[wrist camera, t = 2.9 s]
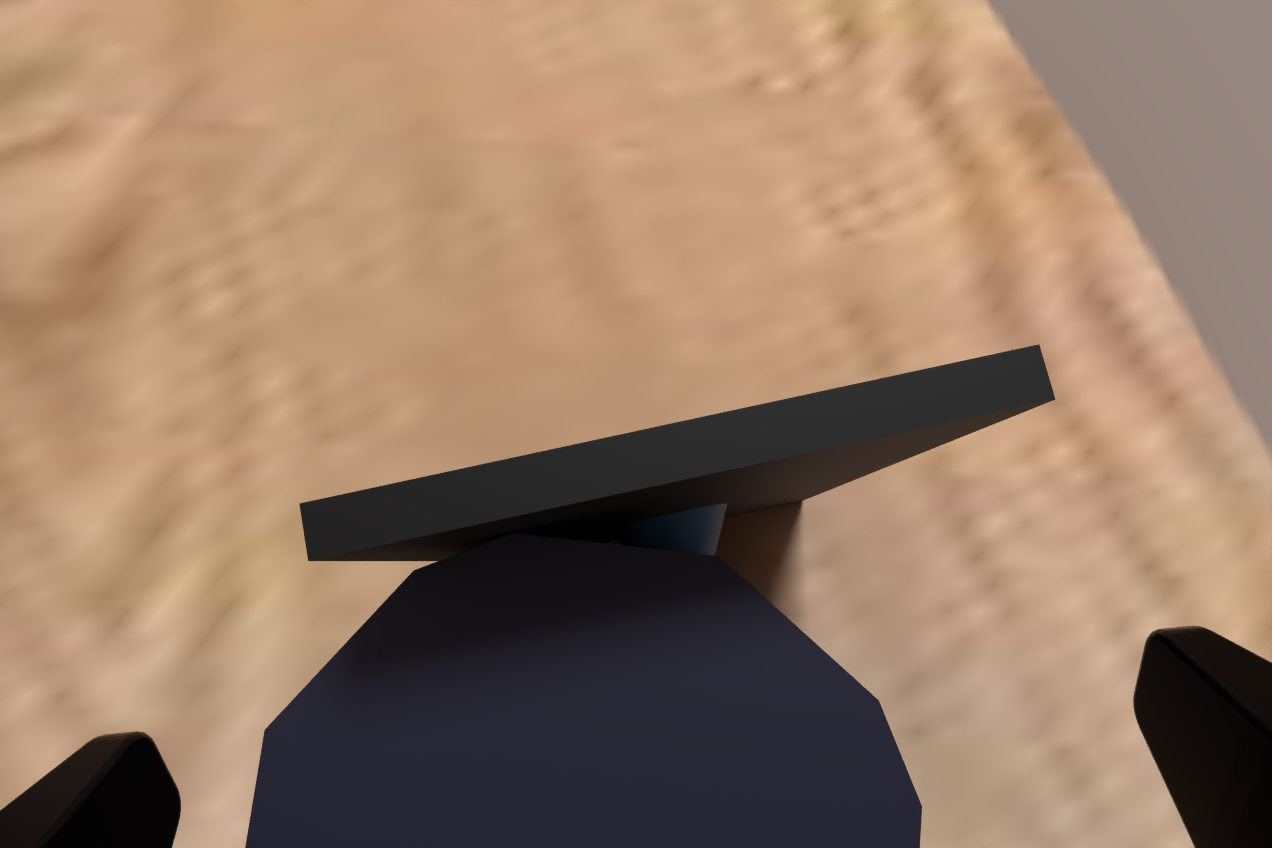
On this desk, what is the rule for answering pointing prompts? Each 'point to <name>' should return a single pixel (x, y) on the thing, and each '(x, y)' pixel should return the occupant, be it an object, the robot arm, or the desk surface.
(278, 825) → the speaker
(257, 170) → the desk surface
